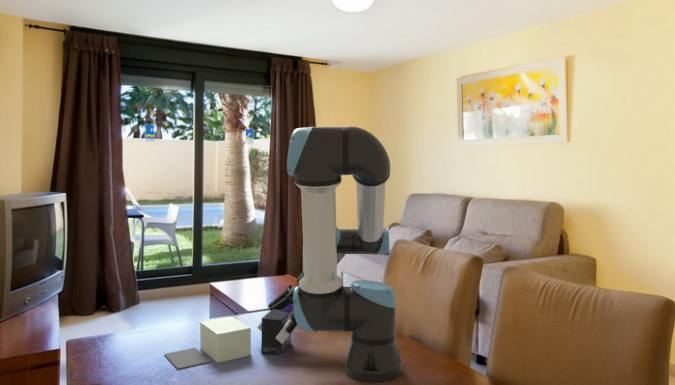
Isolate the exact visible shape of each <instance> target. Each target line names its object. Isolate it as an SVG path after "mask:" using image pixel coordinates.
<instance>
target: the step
mask: <svg viewBox="0 0 675 385" xmlns="http://www.w3.org/2000/svg"><path fill="white" fill-rule="evenodd" d="M199 328H200V329H199V331H200V335H199V336H200V339H199V340H200V349H201V351H203V353H205V354H207V355H208V356H209V357H210V358H211V359H212V360H213V361H215V362H216V363H217V364H219V363H223V362H228V361H232V360H236V359H241V358H245V357H249V356H251V355H252V346H251V345H252V344H251V343H252V340H251V339H252V337H251V336H252V335H251V332H252V331H251V330H252V329H251V327H250V326H248V325H246V324H245V323H243V322H242V321H240V320H238V319H236V318H235V317H233V316H228V317H221V318H217V319H211V320H205V321H200V324H199Z"/></svg>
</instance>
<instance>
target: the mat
mask: <svg viewBox="0 0 675 385" xmlns="http://www.w3.org/2000/svg"><path fill="white" fill-rule="evenodd" d="M163 355H164V357H165V359H167V360H168V361H169V362H170V363H171V364H172V366H174V367H175V368H176V370H177V371H179V370H182V369H183V370H184V369H187V368H190V367H197V366H200V365H205V364H210V363H211V360H210V359H209V358H207V356H205V355H204V354H203V353H202V352H201V351H200V350H199V349H197V348H196V347H191V348H186V349H181V350H177V351H173V352H167V353H164V354H163Z"/></svg>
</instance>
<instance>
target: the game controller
mask: <svg viewBox="0 0 675 385" xmlns="http://www.w3.org/2000/svg"><path fill="white" fill-rule="evenodd" d="M293 305H294V304H290V305H288V306H287V307H285V308H284V309H282V310H288V311H291V316H293V312H294V307H293Z"/></svg>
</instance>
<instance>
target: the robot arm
mask: <svg viewBox="0 0 675 385" xmlns="http://www.w3.org/2000/svg"><path fill="white" fill-rule="evenodd" d="M286 162H287V163H286V168H287V169H286V170H287V174H288V175H289V176H291V177H293V178H294V184H295V185H296V186H297V187H298V188H299V189H300V191H301V192H300V196H301V199H300V200H301V219H302V220H301V221H302V222H301V223H302V254H303V253H304V272H303V271H302V272H301V273H300V274H299V275H298V277H297V278H296V280H295V281H296V283H297V284H296V285H295V286H293V285H292V284H289V285H288V286H287V287H286V288H285V290H284V291H282V292H281V293H280V294H278V296H277V297H276V298H274V299H273V300H272V301H271V302H270V303H269V304H268V305H267V307H268V309H269V310H268V311H267V313H266V314H265V315H267V314H268V313H269V312H270V311H272V310H273V309H277V310H282V309H284V308H285V307H287V306H288V305H290V304H294V305H293V307H294V311H293V312H292V314H293V315H291V318H290V319H291V320H289V321H288V322H287V323H286V324H285V326H284V327H283V328H282V330H281V331H280V332H279V334H278V335H277V336H276V339H277V340H278V341H279V342H280V343H282V344H283V343H284V341H285V340H286V339H287V337H288V336H289V335H290V333H291V334H292V333H293V331H294V330H295V328H296V327H297V326H298V328H299V329H301V330H302V331H309V332H316V333H317V332H342V333H343V332H344V333H345V332H351V343H350V345H349V349H348V351H347V352H348V353H347V356H346V358H345V362H344V371H345V373H346V374H347V375H348V376H349V377H350V378H353V379H356V380H359V381H365V382H375V383H376V382H385V381H387V382H388V381H391V380H394V379H396V378H398V377H400V376H401V375H402V373H403V361H402V359H401V355H400V351H399V348H398V346H397V343H396V307H397V303H396V292H395V290H394V289H393V287H391V285H388V284H386V283H383V282H378V281H374V280H369V279H368V280H367V279H357V280H353V281H351V284H350V286H344V281H343V278H341V277H340V276H339V275H338V265H339V263H340V262H341V261H342V259H343V258H345V256H346V255H375V256H377V255H386V254H388V253H389V251H390V232H389V230H388V229H384V222H385V204H386V202H385V200H386V183H387V181H388V180H389V179H390V176H391V161H390V158H389V153H388V152H387V149H385V146H384V145H383V143H382V142H381V141H380V140H379V139H378V138H377V137H376V136H375V135H374V134H373V133H371V132H370V131H369V130H366V129H364V128H361V127H358V126H308V127H298V128H295V129H294V130H293V132H292V133H291V136H290V138H289V145H288V151H287V161H286ZM342 176H352V178H353V180H354V181H355V183H356V215H357V216H356V218H357V224H356V225H357V228H353V229H351V228H350V229H349V228H348V229H347V228H346V229H345V228H343V229H342V228H341V229H340V228H338V227H337V202H336V200H337V199H336V197H337V196H336V194H337V193H336V190H337V188H338V187H339V186H340V185H341V183H342ZM256 328H257V329H258V330H259V331H260V332H262V320H260V322H259V324H257V326H256Z"/></svg>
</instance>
